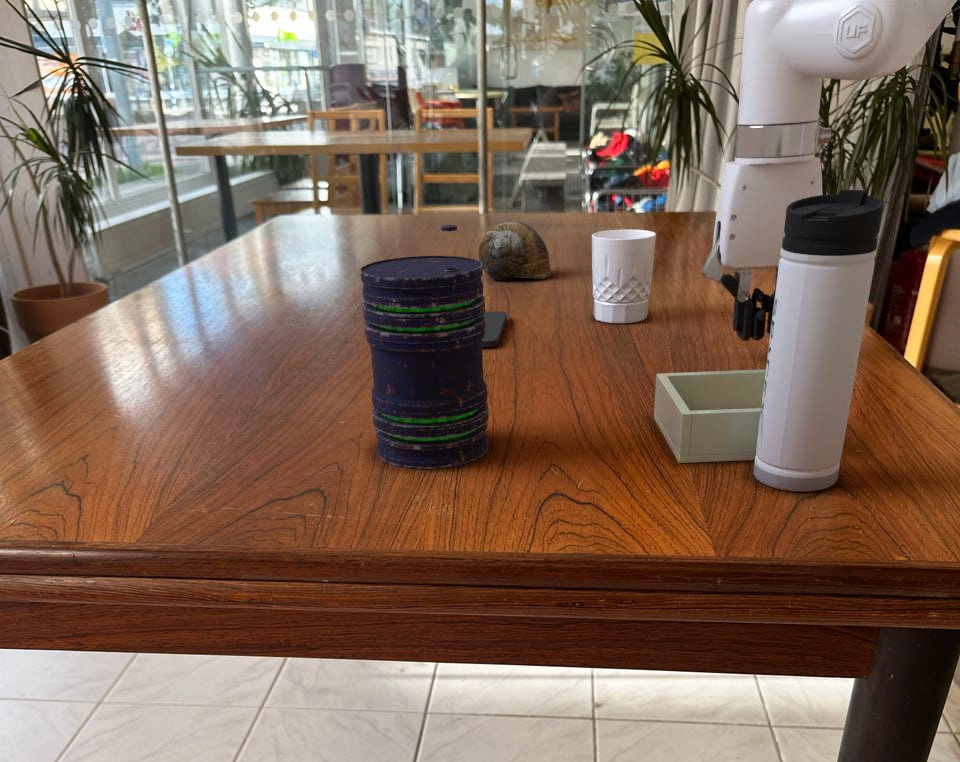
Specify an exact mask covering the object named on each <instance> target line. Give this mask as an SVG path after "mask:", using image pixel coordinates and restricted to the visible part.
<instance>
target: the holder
mask: <svg viewBox="0 0 960 762" xmlns="http://www.w3.org/2000/svg"><path fill="white" fill-rule="evenodd" d="M765 374H766V368H765V369H764V368H763V369H739V370H738V369H737V370H715V371H713V370H712V371H695V372H694V371H693V372H692V371H691V372H690V371H689V372H688V371H687V372H668V373H656V375H655V390H654V391H655V392H654V407H653V419H654V421H655V423H656V425H657V426H658V428H659V430H660V432H661V434H662V435H663V437H664V439H665V441H666V443H667V444H668V446H669V448H670V450H671V452H672V453H673V455H674V457H675V459H676V460H677V463H678V464H689V463H692V464H693V463H714V462H715V463H716V462H732V461H733V462H737V461H738V462H739V461H755V456H756V447H757V439H758V431H759V422H760V414H761V406H762V398H763V390H764V382H765Z"/></svg>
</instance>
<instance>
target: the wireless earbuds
mask: <svg viewBox="0 0 960 762" xmlns="http://www.w3.org/2000/svg"><path fill="white" fill-rule="evenodd" d="M750 301H751V302H753V314H752V326H751V338H750V339H752V340H754V341H760V340H762V339H763V338H764V336H765V334H766V321H767V320H766V319H767V314H768V312H771V311H773V308H774V299H773V298H772V297H771V295H769V294H767V293H765V292H764V291H763V290H761V289H760V288H759V287H755V288H753V291H752V294H751V296H750ZM758 303H760V306H758Z"/></svg>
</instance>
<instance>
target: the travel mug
mask: <svg viewBox="0 0 960 762" xmlns="http://www.w3.org/2000/svg"><path fill="white" fill-rule="evenodd" d="M869 192H870V191H869V190H868V189H867V190H866V189H848V188H847V189H846V188H843V189H840V190H839V192H838V193H830V194H822V195H819V196H813V197H808V198H804V199H800V200H797V201H795V202H792V203H791V204H789V205H788V207H787V210H786V218H785V226H784V233H785V237H784V238H783V242H782V247H781V251H780V254H781V256H782V258H781V259H780V260H779V268H778V276H777V284H776V283H775V285H776V292H775V300H774V308H773V317H772V325H771V333H770V334H769V342H768V350H767V358H766V367H765V369H766V374H765V382H764V390H763V398H762V406H761V414H760V422H759V431H758V439H757V447H756V456H755V460H754V465H753V476H754V477H755V479H756V480H757V481H758V482H759V483H761V484H763V485H764V486H767V487H769V488H773V489H776V490H781V491H784V492H785V491H786V492H793V493H809V492H810V493H811V492H817V491H822V490H825V489H828V488H830V487H831V486H833V485H834V484H835V483H836V482H837V481H838V479H839V472H840V467H841V459H842V455H843V449H844V445H845V444H844V443H845V437H846V431H847V426H848V422H849V421H848V420H849V414H850V410H851V402H852V397H853V391H854V385H855V381H856V374H857V369H858V368H857V367H858V364H859V357H860V351H861V345H862V339H863V334H864V328H865V323H866V317H867V311H868V304H869V299H870V293H871V287H872V281H873V277H874V270H875V264H876V260H875V258H876V256H877V253H878V252H877V251H878V242H879V239H878V235H879V233H880V231H881V230H880V229H881V224H882V218H883V212H884V207H885V202H884V200H883V199H881V197H878V196H873V195H869Z"/></svg>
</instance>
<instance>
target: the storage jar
mask: <svg viewBox="0 0 960 762" xmlns="http://www.w3.org/2000/svg"><path fill="white" fill-rule="evenodd" d="M440 230H441V232H457V231H458V225H457V224H446V225H445V224H444V225H441V226H440ZM359 271H360V281H361V283H362V284H363V286H362V289H361V291H362V292H361V293H362V301H363V302H362V304H361V305H362V307H361V308H362V315H363V316H362V317H363V321H365V322H364V326H365V330H364V335H365V336H366V342H367V343H368V345H369V346H370V356H371V357H370V358H371V366H372V377H373V378H372V379H373V386H372V388H371V390H370V391H371V397H370V399H371V403H372V410H371V411H372V421H373V422H372V423H373V426H374V428H375V436H376V438H377V440H378V441H377V445H376V450H377V455H378V457H379V458H380V459H381V460H382V461H383V462H386V463H387V464H390V465H392V466H395V467H400V468H405V469H417V470H429V469H430V470H433V469H434V470H435V469H445V468H452V467H457V466H462V465H466V464H469V463H471V462H473V461H476V460H478V459H480V458H482V457H483V456H484V455H486V453H487V452H488V450H489V439H488V437H487V432H488V429H489V428H488V421H489V416H490V415H489V403H488V396H489V392H488V385H487V383H486V381H485V380H484V357H483V347H482V339H483V338H484V336H485V328H486V325H485V318H484V314H485V311H486V298H485V296H484V283H483V281H482V277H483V274H484V270H483V265H482V262H480V261H479V259H476V258H471V257H466V256H456V255H413V256H403V257H394V258H388V259H383V260H377V261H373V262H370V263H367V264H365V265H363V266H361V267H360V269H359Z"/></svg>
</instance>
